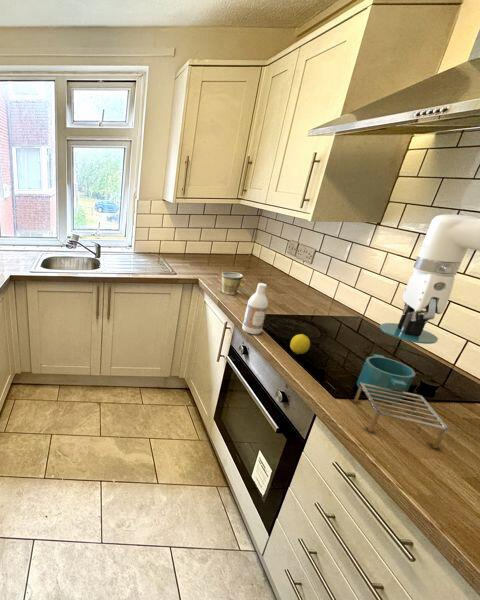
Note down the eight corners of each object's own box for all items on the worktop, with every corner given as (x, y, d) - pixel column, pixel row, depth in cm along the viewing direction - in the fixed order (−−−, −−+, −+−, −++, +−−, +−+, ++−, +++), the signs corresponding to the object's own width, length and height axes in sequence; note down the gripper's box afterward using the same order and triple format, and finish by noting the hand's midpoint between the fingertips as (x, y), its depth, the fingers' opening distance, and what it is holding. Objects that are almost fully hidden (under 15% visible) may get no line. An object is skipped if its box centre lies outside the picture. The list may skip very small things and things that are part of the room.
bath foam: (245, 334, 125) (256, 287, 117) (239, 326, 131) (249, 281, 124) (263, 335, 124) (276, 287, 117) (256, 327, 131) (267, 281, 123)
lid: (423, 330, 88) (433, 309, 86) (446, 349, 79) (457, 325, 76) (372, 323, 92) (380, 302, 90) (388, 340, 83) (397, 317, 81)
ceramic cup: (215, 292, 168) (218, 274, 165) (223, 287, 175) (227, 270, 171) (239, 299, 159) (243, 280, 156) (248, 294, 166) (252, 276, 162)
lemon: (305, 352, 112) (312, 333, 109) (306, 360, 108) (313, 339, 105) (287, 348, 115) (293, 329, 112) (287, 355, 111) (293, 335, 107)
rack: (412, 413, 84) (421, 395, 82) (438, 449, 73) (450, 429, 71) (352, 399, 89) (359, 382, 87) (368, 431, 78) (377, 412, 76)
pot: (390, 380, 98) (401, 356, 95) (414, 412, 85) (428, 387, 81) (349, 371, 102) (358, 349, 99) (366, 401, 89) (377, 376, 85)
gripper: (478, 276, 70) (443, 348, 77) (438, 260, 84) (412, 322, 90) (432, 273, 73) (403, 342, 80) (401, 257, 87) (378, 317, 93)
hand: (408, 331), depth 85 cm, fingers closed on lid, 3 cm apart
